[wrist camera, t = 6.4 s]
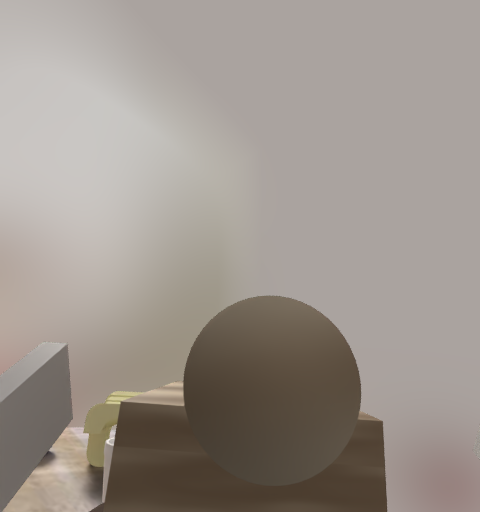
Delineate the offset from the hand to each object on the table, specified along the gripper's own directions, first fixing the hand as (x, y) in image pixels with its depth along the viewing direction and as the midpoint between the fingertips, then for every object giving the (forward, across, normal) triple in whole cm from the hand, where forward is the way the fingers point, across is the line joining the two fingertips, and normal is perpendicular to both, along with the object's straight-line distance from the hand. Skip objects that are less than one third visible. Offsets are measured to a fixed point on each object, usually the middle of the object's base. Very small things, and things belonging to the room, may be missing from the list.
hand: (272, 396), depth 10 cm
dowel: (+8, -1, -7) cm, 11 cm away
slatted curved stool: (+74, -38, -80) cm, 115 cm away
